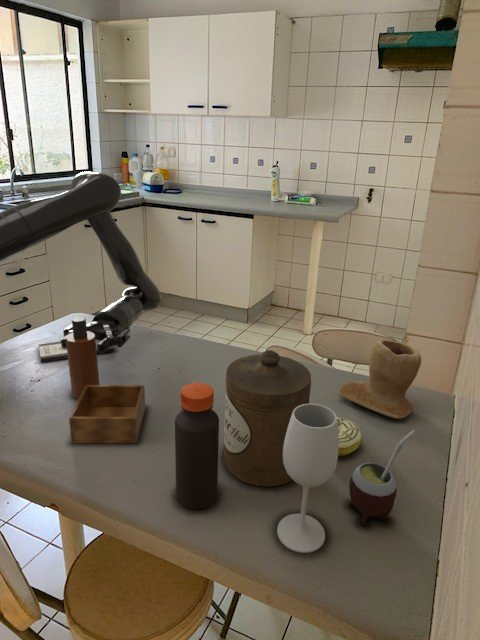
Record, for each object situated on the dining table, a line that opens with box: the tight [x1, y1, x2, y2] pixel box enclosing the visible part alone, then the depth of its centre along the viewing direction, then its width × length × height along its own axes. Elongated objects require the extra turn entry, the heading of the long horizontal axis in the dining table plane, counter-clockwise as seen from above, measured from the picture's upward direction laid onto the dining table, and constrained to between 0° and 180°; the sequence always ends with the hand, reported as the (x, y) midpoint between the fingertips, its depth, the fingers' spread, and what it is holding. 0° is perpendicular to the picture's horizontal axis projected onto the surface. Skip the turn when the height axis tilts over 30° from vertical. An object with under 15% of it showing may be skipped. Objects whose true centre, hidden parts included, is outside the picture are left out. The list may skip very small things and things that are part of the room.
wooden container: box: [223, 349, 312, 488], centre depth 81 cm, size 15×15×22 cm
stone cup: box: [337, 339, 422, 420], centre depth 102 cm, size 15×12×15 cm
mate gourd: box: [348, 429, 417, 527], centre depth 72 cm, size 8×8×15 cm
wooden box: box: [68, 384, 146, 444], centre depth 93 cm, size 12×12×6 cm
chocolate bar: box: [38, 339, 115, 363], centre depth 124 cm, size 9×1×18 cm
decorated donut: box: [336, 415, 362, 457], centre depth 90 cm, size 10×11×4 cm
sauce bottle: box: [66, 316, 100, 400], centre depth 101 cm, size 6×6×18 cm
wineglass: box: [276, 403, 339, 554], centre depth 66 cm, size 8×8×21 cm
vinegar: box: [174, 382, 220, 510], centre depth 73 cm, size 7×7×20 cm
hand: (80, 346), depth 100 cm, fingers open, 8 cm apart
